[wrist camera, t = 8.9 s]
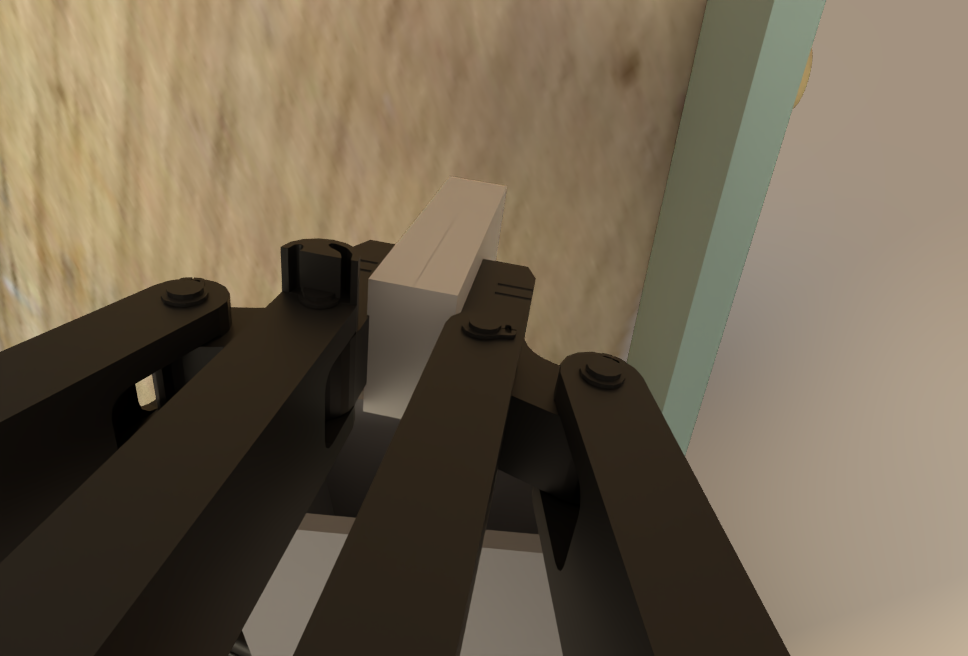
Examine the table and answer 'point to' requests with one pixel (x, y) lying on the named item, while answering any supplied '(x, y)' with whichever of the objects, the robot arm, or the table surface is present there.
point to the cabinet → (499, 581)
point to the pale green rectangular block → (717, 191)
